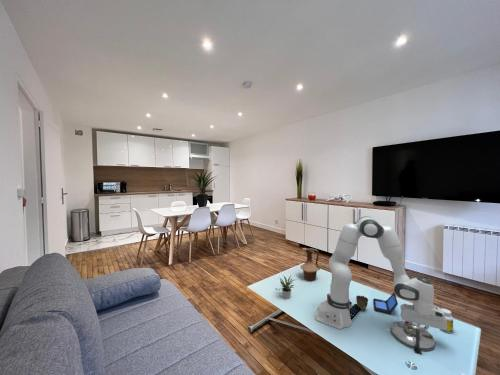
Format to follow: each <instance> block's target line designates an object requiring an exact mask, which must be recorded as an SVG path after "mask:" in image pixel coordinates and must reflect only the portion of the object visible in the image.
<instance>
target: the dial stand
mask: <svg viewBox="0 0 500 375" xmlns="http://www.w3.org/2000/svg"><path fill="white" fill-rule="evenodd" d="M412 328H413V329H414V330H415V334H416V349H414V348H413V349H412V350H413V352H414V354H418V355H423V353H422V352H423V351H421V350H420V330H419V326H418V325H417V323H413V324H412Z"/></svg>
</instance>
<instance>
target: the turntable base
mask: <svg viewBox="0 0 500 375" xmlns="http://www.w3.org/2000/svg"><path fill="white" fill-rule="evenodd" d="M390 333H391V335H392V337H393V338H394V339H395V340H396V341H397V342H398V343H400V344H401V345H403V346H405V347H407V348H410V349H412V350H414V349H416V348H415V347H412V346H409V345H407V344H405V343H403V342H402V341H400V340H399V339H398V338H396V337H395V336H394V334H393V333H392V331H391V330H390ZM413 348H414V349H413ZM435 348H436V343H435V342H434V347H433V348H431V349H420V350H421V352H424V353H426V352H432V351H433V350H435Z"/></svg>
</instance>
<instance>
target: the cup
mask: <svg viewBox="0 0 500 375" xmlns="http://www.w3.org/2000/svg"><path fill="white" fill-rule="evenodd" d="M355 299H356V300H355V301H356V304H357V307H358V308H359V307H360V308H361V311H365V310H366V308H367V307H368V304H369V303H368V302H369V299H368V297H366V296H364V295H356V296H355Z"/></svg>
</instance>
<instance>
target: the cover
mask: <svg viewBox="0 0 500 375" xmlns="http://www.w3.org/2000/svg"><path fill="white" fill-rule="evenodd" d="M412 324H414V323H412V322H408V323H405V324H404V325H403V331H404V332H405V333H406V334H407V335H409V336H412V337H416V334H415V330H414V329H413V328H412Z"/></svg>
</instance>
